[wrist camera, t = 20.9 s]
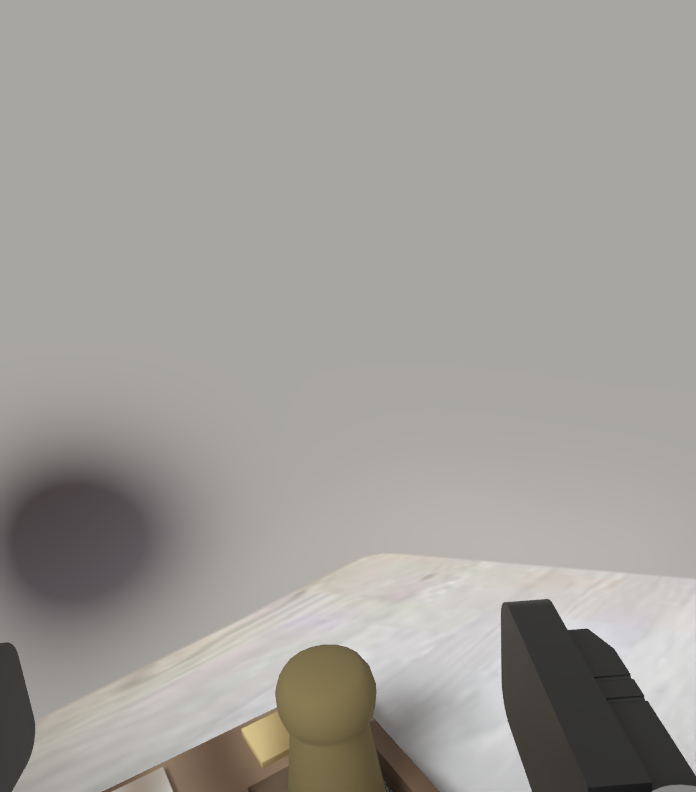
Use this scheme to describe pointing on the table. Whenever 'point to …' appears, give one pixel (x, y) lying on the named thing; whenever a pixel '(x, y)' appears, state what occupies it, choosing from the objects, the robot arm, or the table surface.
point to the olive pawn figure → (329, 721)
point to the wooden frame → (260, 763)
